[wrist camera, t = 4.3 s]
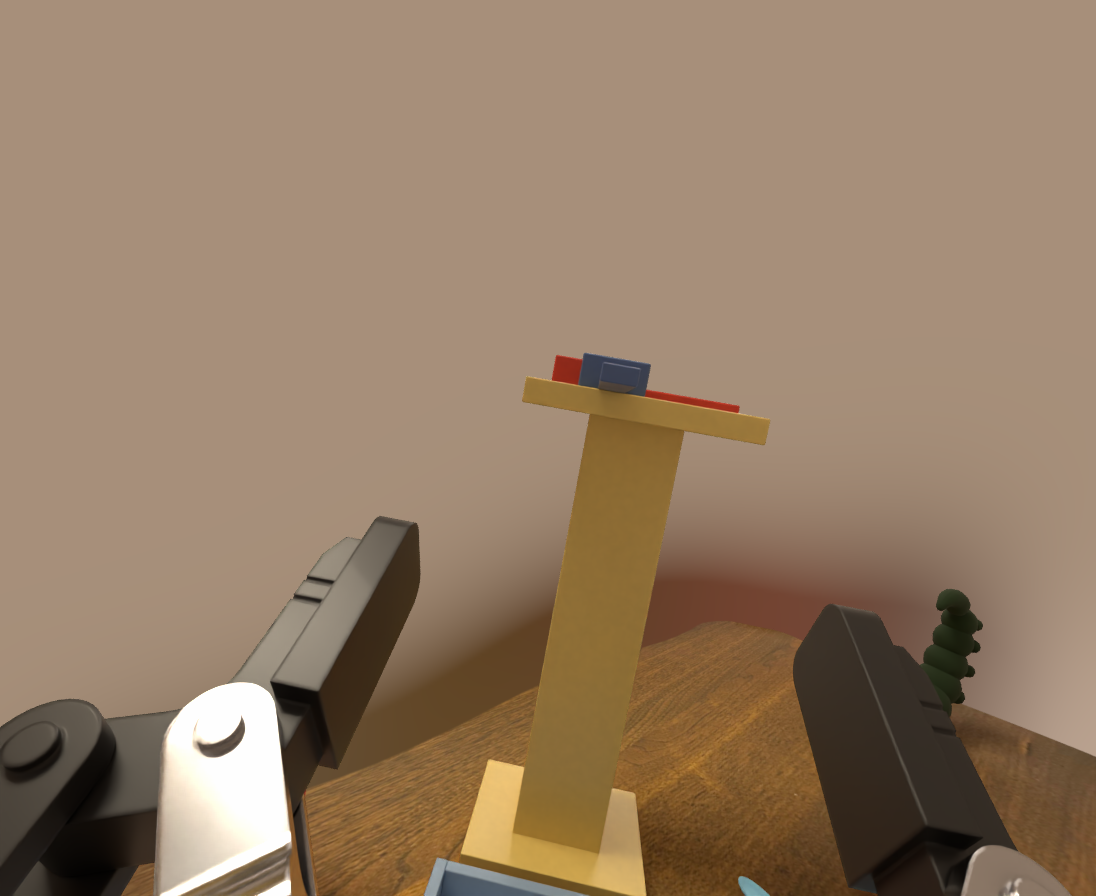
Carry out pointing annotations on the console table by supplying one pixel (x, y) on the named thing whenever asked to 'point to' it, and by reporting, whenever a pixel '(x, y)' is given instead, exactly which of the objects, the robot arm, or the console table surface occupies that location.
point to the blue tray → (483, 883)
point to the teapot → (750, 887)
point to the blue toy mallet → (614, 374)
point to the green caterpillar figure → (951, 648)
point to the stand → (593, 651)
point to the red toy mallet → (570, 373)
